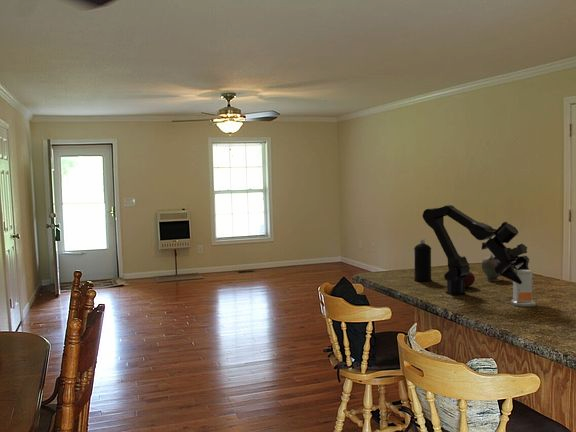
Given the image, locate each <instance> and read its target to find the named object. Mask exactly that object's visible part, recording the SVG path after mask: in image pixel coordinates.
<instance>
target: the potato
mask: <svg viewBox="0 0 576 432" xmlns="http://www.w3.org/2000/svg"><path fill="white" fill-rule="evenodd" d="M475 280H476V277H475V275H474V274H473V272H472V271H470V270H469V273H468V274H467V275H466V278H465V279H464V283H465V288H467V287H470V286H473V284H474V283H475Z"/></svg>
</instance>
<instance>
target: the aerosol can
mask: <svg viewBox="0 0 576 432" xmlns="http://www.w3.org/2000/svg"><path fill="white" fill-rule="evenodd" d="M419 242H420V243H419V244H416V245H415V247H414V248H413V249H414V250H413V251H414V281H415V282H417V283H418V282H419V283H429V282H432V281H433V280H432V247H431V246H430V245H429V244H426V240H425V239H423V238H422V239H421V238H420V241H419Z"/></svg>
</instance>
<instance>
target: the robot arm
mask: <svg viewBox="0 0 576 432" xmlns="http://www.w3.org/2000/svg"><path fill="white" fill-rule="evenodd" d="M444 217H449V218H450V219H452V220H453V221H455V222H457V224H458V223H459V224H460V225H461V226H463V227H464V228H466V229H467V230H468V232H469V233H470V234H471V236H473V238H475V239H476V240H478V241H485V240H487V241H486V242H481V250H482V251H483V250H487V249H488V250H489V252H490V253H491V255H492V256H493V257H494V259H495V260H497V259H498V261H499V262H500V263H499V264H498V265H497V266H496V267H495V268H494V271H495V273H496V274H497V275H499V274H500V276H499V277H504V278H506V279H508V280H510V281H512V282H513V281H514V282H516V283H518V284H521V283H522V281H521V280H520V278H519V277H518V275H517V274H516V272H515V271H514V270H530V269H529V263H530V258H529V257H528V256H527V255H524V254H527V253H528V247H527V246H526V245H525V244H524V243H519V244H517V245H516V247H513V248H511V247H507V246H506V245H505V244H509V243H510V242H511V241H512V240H513V239H514V238H515V237H516V236H517V235H518V234H519V230H518V229H517V228H516V227H515V226H514V225H512V224H510V223H508V222H507V221H503V222H502V223H501V225H500V226H499V227H498V228H493V227H492V226H491V225H489V224H486V223H484V222H480V221H477V220H475V219H474V218H472V217H470V216H468V215H467V214H465V213H464V212H462V211H461V210H459V209H457V208H456V207H455V206H454V205H451V204H450V205H444V206H441V207H434V208H433V207H432V208H426V209H425V210H424V211H423V212H422V219H423V221H424V222H425V224H426V225H427V226H428V227H429V228H431V229H432V230H433V232H434V234H435V236H436V238H437V241H438V242H439V244H440V246H441V249H442V250H443V252H444V255H445V256H446V259H447V268H448V271H446V272H445V274H444V275H443V277H444V280H446V290H445V293H446V294H448V295H451V296H459V295H466V294H467V292H465V291H466V290H465V289H466V287H465V283H464V279H465V278H466V275H467V274H468V273H469V271H470V265H471V264H470V263H469V262H468V259H467V257H466V256H464V255H463V256H461V255H460V254H459V252H458V251H457V249H456V248H455V245H454V243H453V241H452V238H450V235H449V233H448V231H447V229H446V227H445V224H444V223H445V222H444V219H445V218H444ZM532 281H534V277H533V276H532Z"/></svg>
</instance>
